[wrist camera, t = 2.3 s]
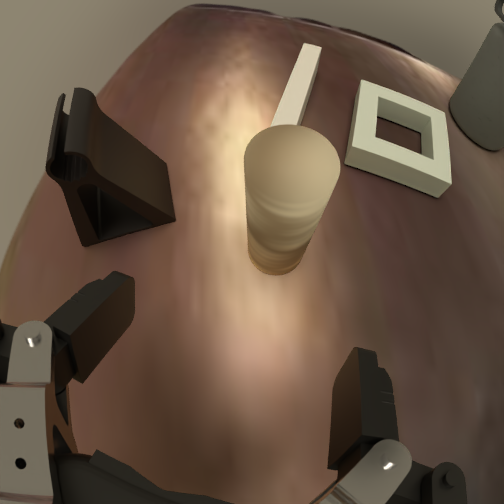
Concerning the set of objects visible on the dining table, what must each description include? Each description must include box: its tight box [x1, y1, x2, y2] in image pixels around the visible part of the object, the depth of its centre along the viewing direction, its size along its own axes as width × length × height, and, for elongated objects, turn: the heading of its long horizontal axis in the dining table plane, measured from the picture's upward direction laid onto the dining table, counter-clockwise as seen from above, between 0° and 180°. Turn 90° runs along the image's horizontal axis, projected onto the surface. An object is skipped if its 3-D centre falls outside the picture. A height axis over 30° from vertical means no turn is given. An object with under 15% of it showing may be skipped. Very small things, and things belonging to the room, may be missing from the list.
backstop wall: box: [270, 43, 322, 127], centre depth 28 cm, size 2×16×4 cm, turn 162°
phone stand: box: [46, 88, 175, 247], centre depth 21 cm, size 9×6×12 cm, turn 104°
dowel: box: [244, 124, 340, 275], centre depth 19 cm, size 4×4×12 cm
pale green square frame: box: [344, 80, 451, 198], centre depth 27 cm, size 10×10×3 cm
